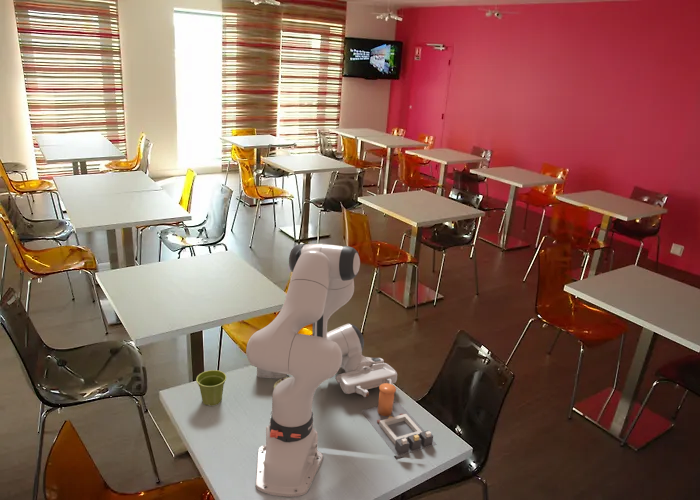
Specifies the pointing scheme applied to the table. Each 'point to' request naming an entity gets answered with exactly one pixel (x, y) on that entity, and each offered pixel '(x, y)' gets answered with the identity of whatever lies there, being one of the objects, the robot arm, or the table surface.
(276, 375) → the light bulb box
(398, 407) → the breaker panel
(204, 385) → the plant pot
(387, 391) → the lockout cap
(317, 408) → the table surface
